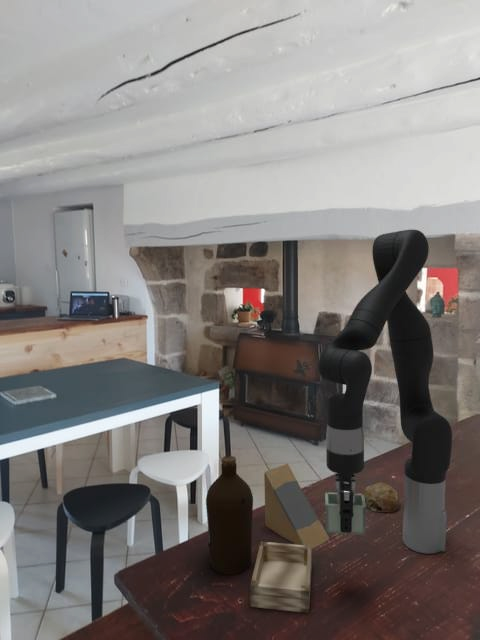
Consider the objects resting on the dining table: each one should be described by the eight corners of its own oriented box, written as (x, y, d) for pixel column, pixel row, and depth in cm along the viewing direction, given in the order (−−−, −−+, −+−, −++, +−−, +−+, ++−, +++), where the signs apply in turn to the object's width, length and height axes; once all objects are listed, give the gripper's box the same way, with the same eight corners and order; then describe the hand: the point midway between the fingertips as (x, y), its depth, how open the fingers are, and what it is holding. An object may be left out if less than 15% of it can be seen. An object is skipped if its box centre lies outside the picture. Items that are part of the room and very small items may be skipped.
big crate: (311, 564, 113) (311, 545, 113) (308, 613, 98) (309, 591, 97) (260, 560, 115) (260, 541, 115) (250, 606, 100) (250, 585, 99)
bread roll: (360, 518, 140) (359, 499, 136) (365, 489, 148) (364, 470, 144) (397, 525, 136) (397, 506, 132) (400, 495, 144) (400, 476, 140)
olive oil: (260, 554, 118) (259, 452, 114) (243, 581, 108) (242, 471, 105) (218, 545, 121) (216, 446, 118) (199, 570, 112) (196, 464, 108)
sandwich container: (307, 552, 118) (307, 492, 116) (264, 526, 130) (263, 471, 128) (331, 539, 124) (331, 481, 122) (287, 515, 135) (287, 462, 133)
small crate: (363, 520, 106) (363, 494, 105) (365, 535, 101) (365, 507, 100) (325, 518, 107) (325, 492, 106) (325, 532, 102) (325, 505, 101)
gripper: (367, 460, 94) (366, 544, 96) (361, 433, 108) (361, 507, 110) (326, 459, 95) (327, 542, 97) (326, 432, 109) (326, 505, 111)
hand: (345, 523), depth 104 cm, fingers closed on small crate, 5 cm apart
